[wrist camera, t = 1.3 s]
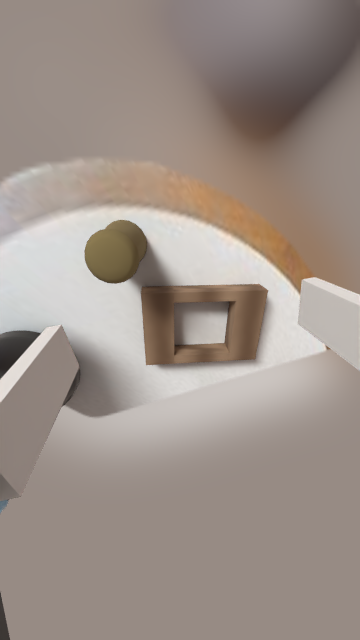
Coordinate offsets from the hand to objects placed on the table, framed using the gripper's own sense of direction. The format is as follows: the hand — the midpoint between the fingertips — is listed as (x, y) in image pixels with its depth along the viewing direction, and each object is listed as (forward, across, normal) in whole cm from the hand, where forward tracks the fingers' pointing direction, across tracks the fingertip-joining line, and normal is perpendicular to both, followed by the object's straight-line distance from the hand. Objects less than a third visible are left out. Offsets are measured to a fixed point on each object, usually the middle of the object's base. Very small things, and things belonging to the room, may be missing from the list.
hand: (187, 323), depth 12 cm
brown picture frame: (+21, +4, -11) cm, 24 cm away
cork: (+22, -5, +2) cm, 23 cm away
